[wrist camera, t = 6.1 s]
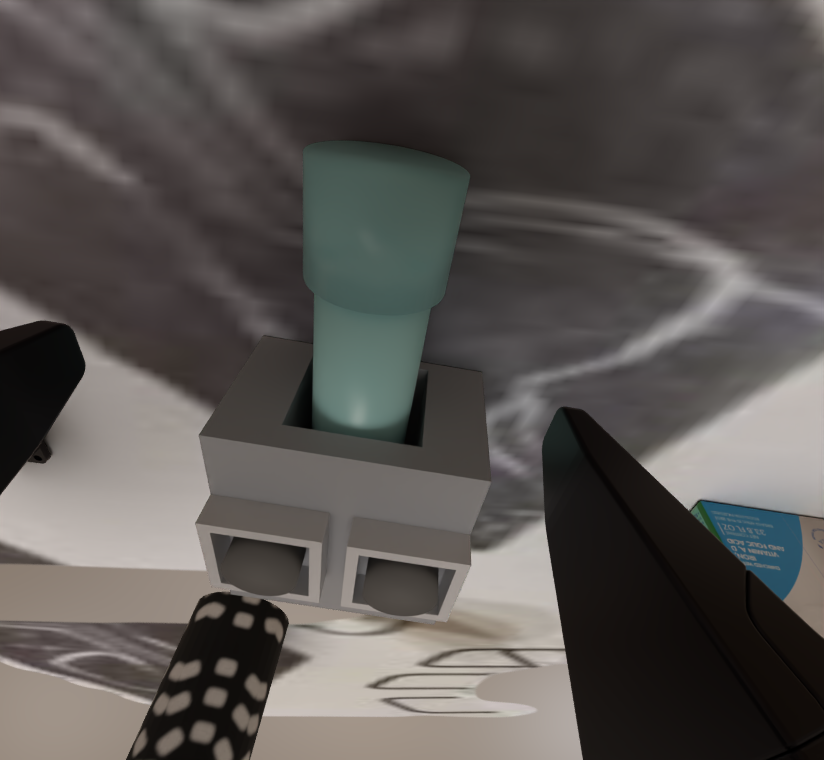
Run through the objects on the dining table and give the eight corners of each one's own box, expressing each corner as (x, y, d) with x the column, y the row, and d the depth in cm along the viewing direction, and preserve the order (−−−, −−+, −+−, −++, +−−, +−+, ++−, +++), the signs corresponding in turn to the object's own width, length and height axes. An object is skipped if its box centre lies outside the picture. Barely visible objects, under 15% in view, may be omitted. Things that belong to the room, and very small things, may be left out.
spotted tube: (299, 608, 39) (193, 995, 23) (276, 642, 44) (176, 983, 28) (204, 581, 37) (21, 978, 22) (192, 620, 42) (34, 969, 26)
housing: (273, 489, 29) (219, 621, 23) (263, 335, 22) (180, 463, 15) (438, 515, 30) (433, 652, 23) (482, 372, 22) (494, 513, 16)
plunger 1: (237, 558, 21) (224, 590, 20) (231, 517, 19) (215, 550, 18) (305, 568, 21) (297, 600, 20) (306, 529, 19) (296, 562, 18)
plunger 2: (365, 577, 21) (359, 610, 20) (371, 539, 19) (365, 572, 18) (431, 587, 21) (430, 620, 20) (445, 550, 19) (444, 584, 18)
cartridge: (397, 500, 28) (387, 579, 24) (315, 487, 28) (291, 564, 24) (468, 158, 16) (472, 199, 12) (325, 132, 16) (280, 164, 12)
